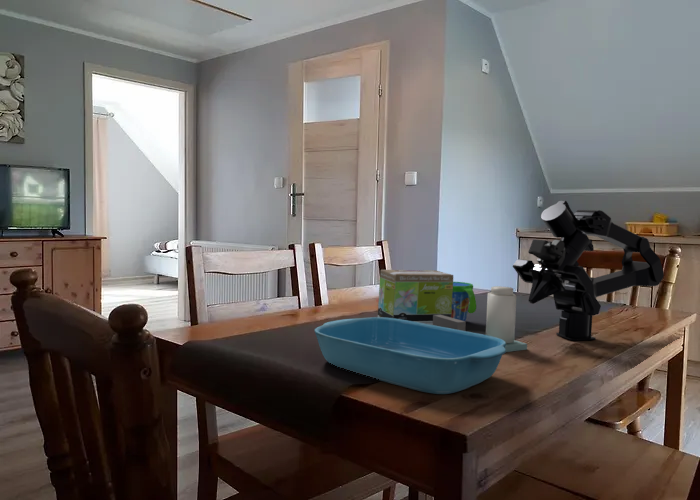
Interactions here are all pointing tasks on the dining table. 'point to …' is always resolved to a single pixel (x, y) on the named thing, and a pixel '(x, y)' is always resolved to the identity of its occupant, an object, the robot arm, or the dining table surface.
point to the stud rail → (515, 346)
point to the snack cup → (462, 300)
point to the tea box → (415, 295)
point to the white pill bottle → (501, 313)
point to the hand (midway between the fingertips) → (530, 302)
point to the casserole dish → (411, 353)
